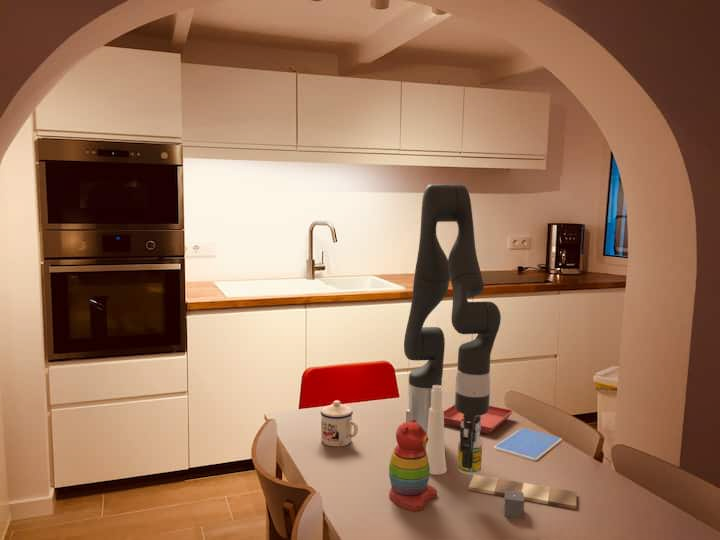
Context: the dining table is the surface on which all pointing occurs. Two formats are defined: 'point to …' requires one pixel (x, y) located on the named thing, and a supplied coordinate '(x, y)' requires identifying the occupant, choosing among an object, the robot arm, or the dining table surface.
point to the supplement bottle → (476, 457)
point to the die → (514, 504)
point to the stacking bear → (410, 468)
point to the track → (524, 491)
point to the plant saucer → (487, 420)
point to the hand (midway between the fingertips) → (469, 461)
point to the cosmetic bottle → (436, 433)
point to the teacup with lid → (337, 425)
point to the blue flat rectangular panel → (528, 444)
